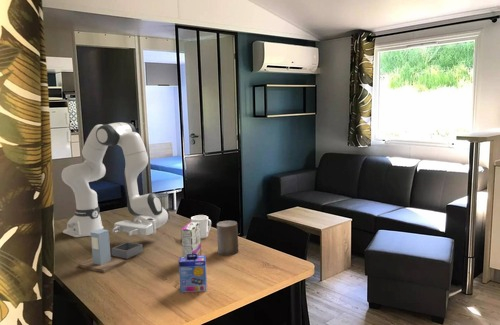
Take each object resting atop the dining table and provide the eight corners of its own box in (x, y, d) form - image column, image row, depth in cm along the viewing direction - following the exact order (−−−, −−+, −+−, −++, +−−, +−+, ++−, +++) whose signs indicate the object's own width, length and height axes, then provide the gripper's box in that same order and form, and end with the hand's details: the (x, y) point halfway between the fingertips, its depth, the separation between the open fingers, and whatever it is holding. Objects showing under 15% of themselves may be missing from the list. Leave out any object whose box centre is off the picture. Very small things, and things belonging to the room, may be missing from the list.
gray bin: (112, 255, 190) (111, 248, 189) (128, 248, 199) (127, 241, 198) (127, 258, 185) (126, 251, 185) (142, 251, 194) (142, 244, 194)
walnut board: (78, 266, 178) (78, 263, 177) (100, 257, 188) (100, 254, 188) (104, 273, 170) (104, 270, 170) (125, 262, 180) (125, 260, 180)
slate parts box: (92, 263, 178) (90, 232, 176) (103, 259, 182) (100, 228, 180) (100, 265, 175) (98, 233, 173) (111, 260, 180) (108, 230, 178)
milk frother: (164, 215, 257) (163, 192, 255) (178, 220, 246) (177, 196, 244) (144, 220, 248) (142, 196, 246) (157, 225, 236) (155, 200, 234)
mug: (188, 238, 212) (187, 219, 210) (197, 233, 220) (196, 214, 218) (207, 240, 208) (206, 220, 206) (215, 235, 216) (214, 216, 214)
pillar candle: (242, 251, 191) (241, 220, 189) (227, 257, 184) (226, 224, 182) (228, 246, 198) (227, 216, 196) (213, 252, 191) (212, 221, 189)
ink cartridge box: (179, 293, 150) (177, 255, 148) (181, 286, 155) (179, 250, 153) (206, 291, 150) (205, 254, 148) (207, 285, 156) (205, 248, 154)
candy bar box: (191, 256, 186) (189, 221, 184) (201, 257, 185) (200, 222, 183) (182, 266, 175) (180, 229, 173) (193, 266, 174) (191, 229, 172)
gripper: (126, 215, 204) (104, 223, 192) (157, 220, 194) (136, 228, 182) (127, 227, 205) (105, 236, 193) (158, 233, 195) (137, 241, 183)
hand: (121, 232), depth 188 cm, fingers open, 8 cm apart
